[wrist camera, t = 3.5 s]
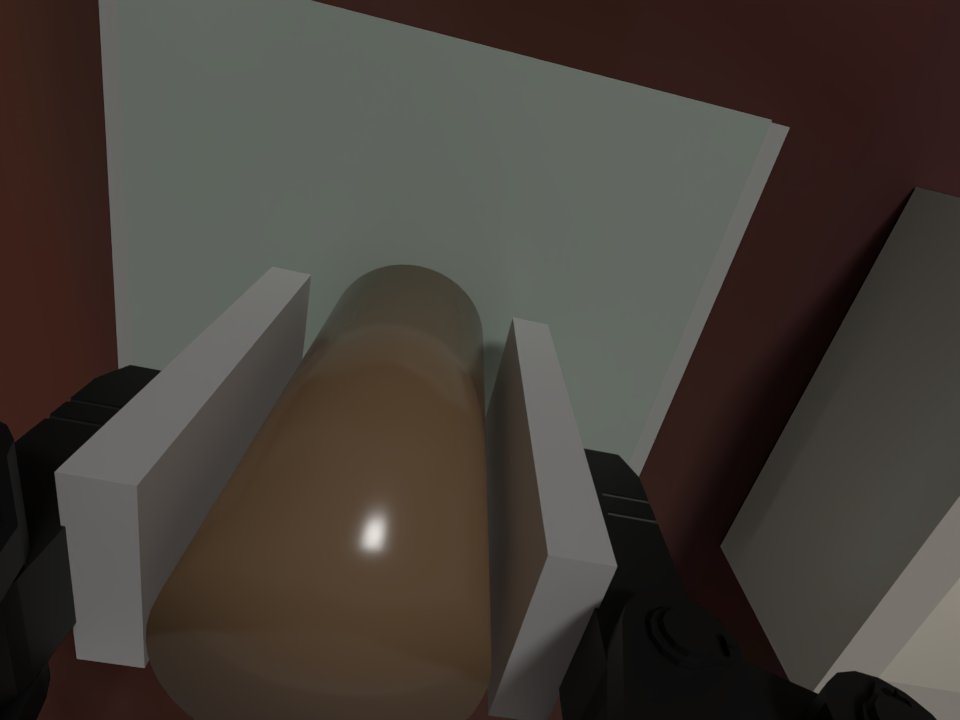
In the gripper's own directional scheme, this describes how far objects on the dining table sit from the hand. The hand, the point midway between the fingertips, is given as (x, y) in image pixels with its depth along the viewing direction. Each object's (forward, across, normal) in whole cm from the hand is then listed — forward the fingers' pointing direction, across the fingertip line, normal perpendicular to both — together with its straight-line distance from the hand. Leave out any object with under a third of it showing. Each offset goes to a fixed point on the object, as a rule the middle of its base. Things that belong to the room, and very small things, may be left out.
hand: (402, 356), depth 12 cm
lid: (+2, 0, 0) cm, 2 cm away
